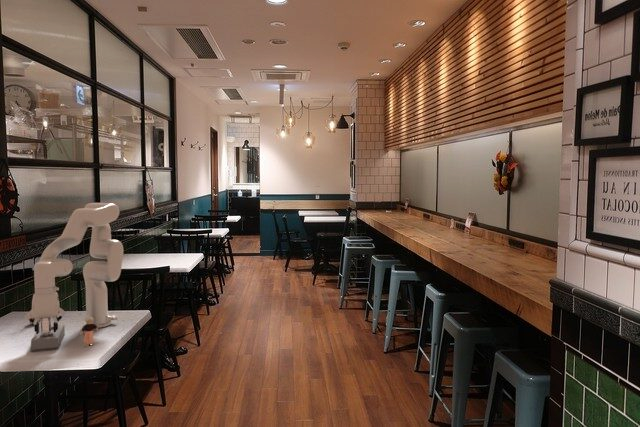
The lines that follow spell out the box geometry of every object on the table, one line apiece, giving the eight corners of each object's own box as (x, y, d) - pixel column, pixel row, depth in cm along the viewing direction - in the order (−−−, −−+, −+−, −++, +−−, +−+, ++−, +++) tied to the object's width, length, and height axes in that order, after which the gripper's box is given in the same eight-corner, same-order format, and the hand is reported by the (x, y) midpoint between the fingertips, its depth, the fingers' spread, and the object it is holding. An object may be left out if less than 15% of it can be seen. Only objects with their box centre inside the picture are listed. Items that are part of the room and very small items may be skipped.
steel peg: (52, 342, 213) (51, 315, 212) (50, 345, 210) (49, 318, 208) (42, 343, 212) (41, 316, 210) (41, 346, 208) (40, 318, 207)
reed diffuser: (43, 324, 241) (41, 284, 240) (26, 327, 237) (25, 286, 235) (38, 320, 249) (36, 281, 247) (22, 322, 244) (21, 283, 243)
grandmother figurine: (84, 348, 210) (83, 318, 209) (79, 346, 212) (78, 317, 211) (100, 343, 216) (100, 314, 215) (95, 341, 218) (94, 313, 217)
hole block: (64, 334, 226) (64, 324, 226) (58, 349, 208) (58, 337, 207) (40, 337, 223) (39, 326, 223) (31, 352, 204) (30, 340, 204)
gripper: (68, 287, 215) (70, 327, 217) (23, 290, 209) (25, 331, 211) (66, 291, 208) (67, 332, 210) (19, 294, 202) (21, 337, 204)
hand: (46, 331), depth 210 cm, fingers open, 6 cm apart
